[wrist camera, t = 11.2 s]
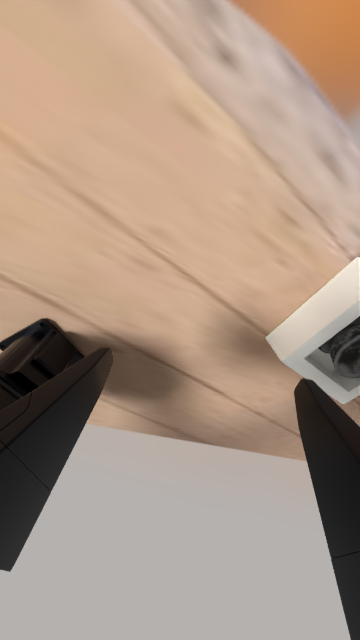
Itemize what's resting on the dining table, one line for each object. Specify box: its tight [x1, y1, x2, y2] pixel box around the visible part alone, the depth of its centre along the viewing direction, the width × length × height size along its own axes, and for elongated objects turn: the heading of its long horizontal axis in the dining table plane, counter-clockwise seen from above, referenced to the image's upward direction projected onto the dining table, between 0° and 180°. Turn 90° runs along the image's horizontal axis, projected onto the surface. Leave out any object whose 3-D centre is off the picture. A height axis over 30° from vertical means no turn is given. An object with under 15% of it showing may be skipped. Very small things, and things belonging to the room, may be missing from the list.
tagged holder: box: [265, 257, 360, 405], centre depth 22 cm, size 11×12×4 cm
